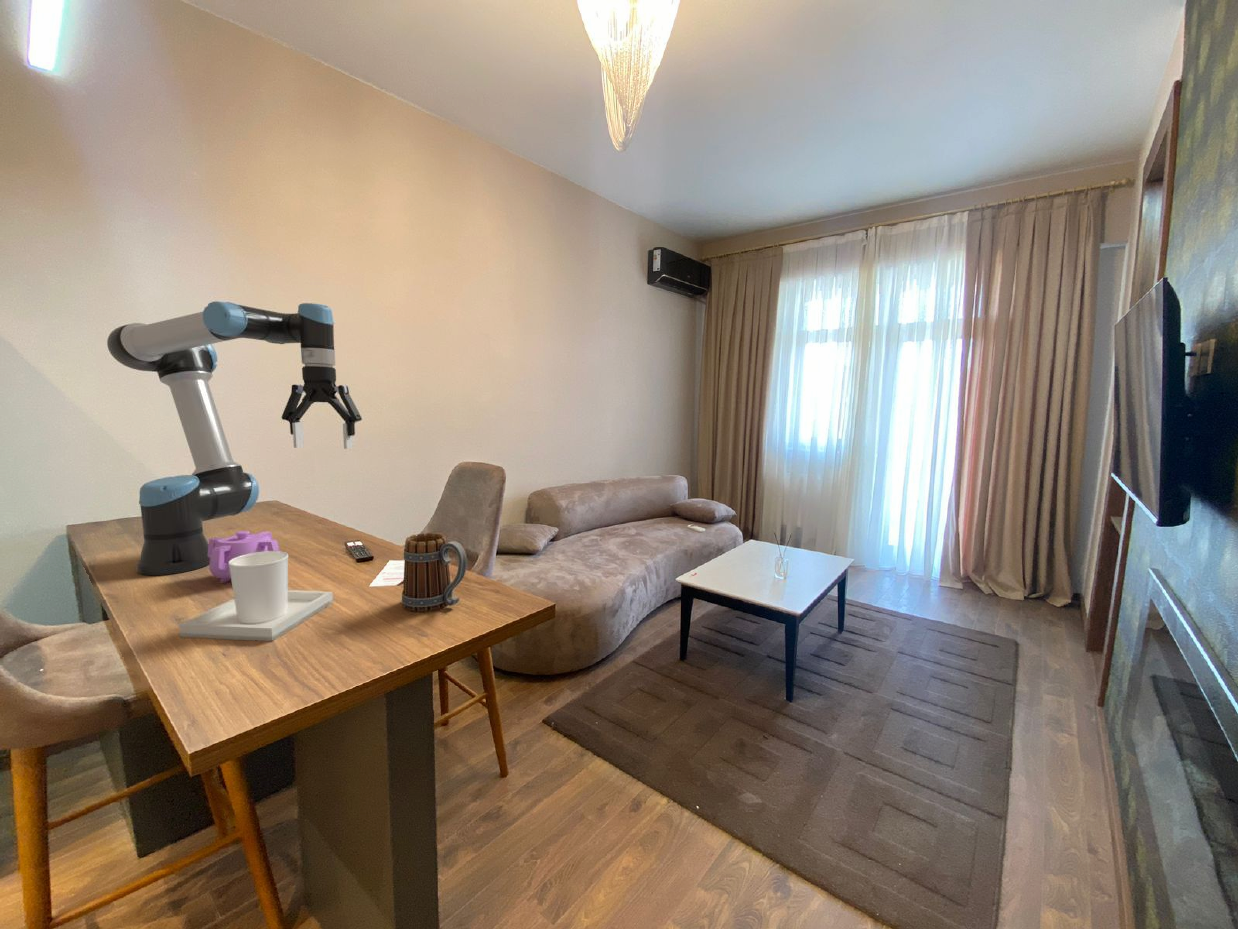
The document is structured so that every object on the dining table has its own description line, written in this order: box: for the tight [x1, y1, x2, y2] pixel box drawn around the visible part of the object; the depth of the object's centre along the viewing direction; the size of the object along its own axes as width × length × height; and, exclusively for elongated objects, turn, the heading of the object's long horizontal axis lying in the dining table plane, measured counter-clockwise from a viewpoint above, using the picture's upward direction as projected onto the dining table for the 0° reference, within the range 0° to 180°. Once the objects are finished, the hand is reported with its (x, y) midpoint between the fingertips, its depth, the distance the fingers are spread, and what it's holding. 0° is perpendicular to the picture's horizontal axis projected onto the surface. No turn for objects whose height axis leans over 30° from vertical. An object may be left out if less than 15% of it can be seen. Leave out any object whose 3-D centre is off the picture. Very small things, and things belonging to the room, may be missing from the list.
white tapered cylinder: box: [228, 550, 289, 624], centre depth 101 cm, size 10×10×12 cm
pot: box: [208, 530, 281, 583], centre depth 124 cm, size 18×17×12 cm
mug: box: [401, 532, 468, 613], centre depth 109 cm, size 16×11×15 cm
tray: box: [178, 589, 334, 642], centre depth 102 cm, size 18×18×2 cm
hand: (323, 447), depth 132 cm, fingers open, 13 cm apart
